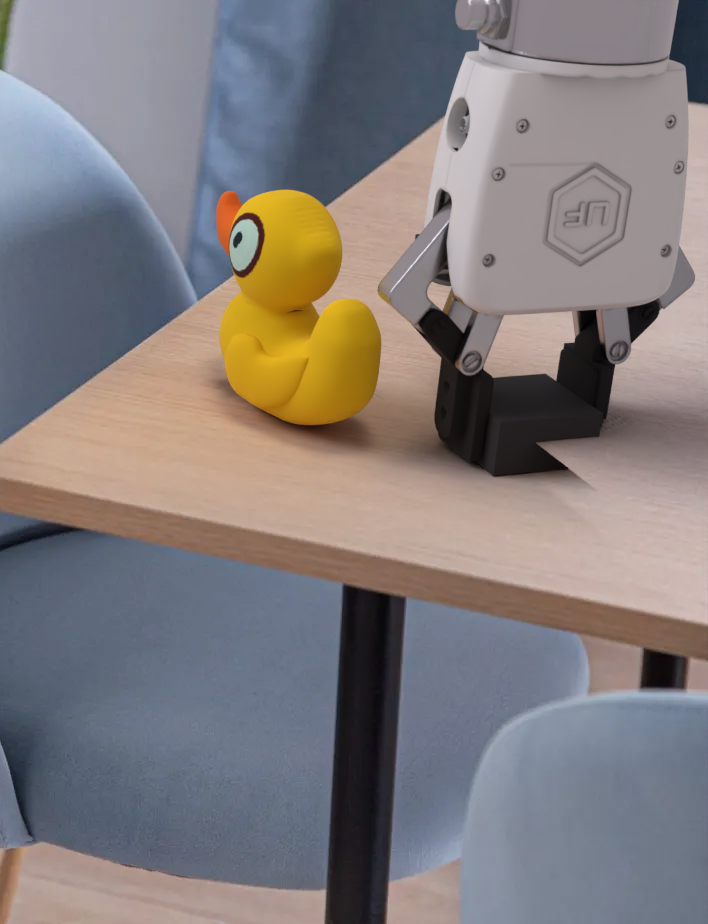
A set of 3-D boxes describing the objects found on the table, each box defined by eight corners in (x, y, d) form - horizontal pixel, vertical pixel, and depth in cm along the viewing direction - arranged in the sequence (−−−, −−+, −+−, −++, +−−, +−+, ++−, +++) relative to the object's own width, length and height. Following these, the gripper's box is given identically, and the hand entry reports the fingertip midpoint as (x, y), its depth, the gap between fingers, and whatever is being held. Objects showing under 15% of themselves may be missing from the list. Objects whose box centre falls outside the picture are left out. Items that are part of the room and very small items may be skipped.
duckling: (165, 378, 84) (175, 171, 80) (257, 362, 87) (272, 161, 83) (305, 464, 76) (325, 237, 71) (403, 443, 78) (428, 223, 74)
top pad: (538, 424, 81) (545, 372, 80) (594, 466, 77) (603, 413, 76) (440, 432, 80) (447, 380, 79) (492, 476, 75) (500, 422, 74)
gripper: (425, 44, 65) (377, 496, 72) (813, 39, 70) (729, 461, 78) (343, 9, 71) (307, 428, 79) (705, 7, 76) (637, 399, 84)
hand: (517, 440), depth 78 cm, fingers closed on top pad, 5 cm apart
